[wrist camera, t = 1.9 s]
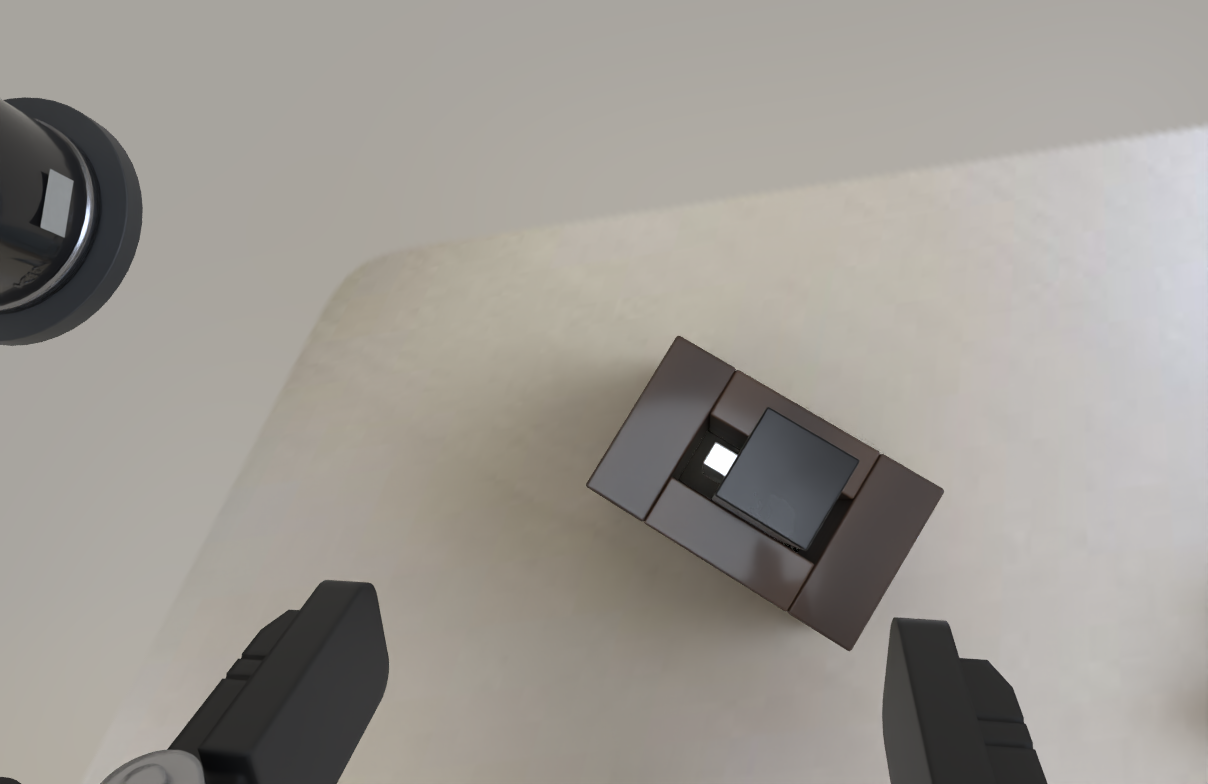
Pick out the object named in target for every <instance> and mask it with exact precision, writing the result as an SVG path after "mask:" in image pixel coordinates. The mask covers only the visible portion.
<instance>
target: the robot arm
mask: <svg viewBox="0 0 1208 784" xmlns="http://www.w3.org/2000/svg"><path fill="white" fill-rule="evenodd" d="M100 216H101V194H100V187H99V182H98V179H97V176H96V173H95V170H94V168H93V166H92V164H91V162H90V160H89V158H88V157H87V155H86V154H85V153H84V151H83V150H82V149H81V148H80V147H79V145H78V144H77V143H75V142H74V141H73V140H72V139H71V138H70V137H68V136H67V135H65V134H64V133H62V132H61V131H59V130H57V129H55V128H54V127H52V126H50V125H48V124H47V123H45V122H43V121H40V120H38V119H35V118H32V117H30V116H29V115H27V114H25V113H24V112H22V111H20V110H19V109H17V108H15V107H13V106H12V105H10V104H8V103H7V102H5V101H3V100H2V99H0V314H5V313H13V312H17V311H22V310H25V309H28V308H31V307H33V306H35V305H37V304H40V303H41V302H43V301H45V300H47V299H48V298H50V297H51V296H53V295H54V294H56V293H57V292H58V291H59V290H61V289H62V288H63V287H64V286H65V285H66V284H67V283H68V282H69V281H70V280H71V279H72V278H73V277H74V276H75V274H76V273H77V272H78V271H79V269H80V268H81V266H82V265H83V264H84V262H85V260H86V259H87V257H88V255H89V253H90V251H91V249H92V247H93V244H94V241H95V239H96V235H97V232H98V228H99V223H100ZM388 673H389V658H388V652H387V646H386V641H385V636H384V630H383V625H382V619H381V614H380V609H379V603H378V598H377V593H376V590H375V588H374V586H373V585H372V584H371V583H366V582H350V581H334V580H325V581H323V582H321V583H320V584H319V585H318V586H317V588H316V589H315V590H314V592H313V593H312V594H311V596H310V597H309V599H308V600H307V601H306V603H305V604H304V605H303V607H302V608H301V609H300V610H288V611H286V612H285V613H284V614H282V615H281V616H279V617H278V618H277V619H275V620H274V621H272V622H271V623H270V624H268V625H267V626H265V627H264V628H263V629H261V630H260V631H259V633H258V634H257V635H256V636H255V638H254V639H253V640H252V642H251V643H250V644H249V645H248V647H247V648H246V649H245V651H244V652H243V653H242V658H241V659H238V660H237V661H236V662H235V663H234V665H233V666H232V667H231V668H230V670H229V671H228V672H227V676H226V679H222V680H221V681H220V683H219V684H218V685H217V686H216V688H215V689H214V690H213V692H212V693H211V694H210V695H209V697H208V698H207V699H206V701H205V702H204V703H203V704H202V706H201V707H200V708H199V709H198V711H197V712H196V713H195V715H194V716H193V717H192V718H191V720H190V721H189V722H188V724H187V725H186V726H185V727H184V729H183V730H182V731H181V733H180V734H179V735H178V736H177V738H176V739H175V740H174V742H173V743H172V744H171V745H170V747H169V748H168V749H167V750H161V751H156V752H152V753H149V754H145V755H142V756H140V757H138V758H135V759H133V760H131V761H129V762H127V763H126V764H124V765H122V766H121V767H119V768H118V769H116V770H115V771H114V772H112V773H111V774H110V775H109V776H107V777H106V778H105V779H104V780H103V781H102V782H101V783H100V784H337V782H338V780H339V778H340V776H341V774H342V773H343V771H344V769H345V767H346V765H347V763H348V761H349V759H350V758H351V756H352V754H353V752H354V750H355V748H356V746H357V744H358V743H359V741H360V739H361V737H362V735H363V733H364V731H365V730H366V728H367V726H368V724H369V722H370V720H371V718H372V716H373V715H374V713H375V711H376V709H377V707H378V705H379V703H380V701H381V699H382V697H383V695H384V692H385V689H386V685H387V680H388ZM882 719H883V736H884V745H885V751H886V757H887V763H888V769H889V775H890V781H891V784H1047V781H1046V778H1045V776H1044V773H1043V770H1042V767H1041V765H1040V762H1039V759H1038V756H1037V753H1036V751H1035V750H1034V749H1033V742H1032V740H1031V737H1030V734H1029V731H1028V729H1027V726H1026V724H1024V718H1023V715H1022V712H1021V709H1020V706H1019V704H1018V701H1017V698H1016V695H1015V693H1014V690H1013V687H1012V686H1011V685H1010V684H1009V683H1008V682H1007V681H1006V680H1005V679H1004V678H1003V677H1002V675H1001V674H1000V673H999V672H998V671H997V670H996V669H995V668H994V667H993V666H992V665H991V663H990V662H989V661H988V660H979V659H965V658H959V656H958V652H957V649H956V646H955V642H954V639H953V636H952V632H951V629H950V626H949V624H948V622H947V621H941V620H926V619H910V618H893V620H892V623H891V629H890V638H889V647H888V656H887V666H886V675H885V684H884V693H883V709H882ZM0 784H21V783H19V782H18V781H17V780H14V779H11V778H6V777H0Z"/></svg>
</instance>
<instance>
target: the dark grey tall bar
mask: <svg viewBox="0 0 1208 784" xmlns="http://www.w3.org/2000/svg"><path fill="white" fill-rule="evenodd" d="M858 464H859V459H857V458H856V457H854V456H852V455H851V454H849V453H847V452H845V451H844V450H842V449H840V448H839V447H837V446H835V445H833V444H832V443H830V442H828V441H827V440H825V439H823V438H821V437H820V436H818V435H816V434H815V433H813V432H811V431H810V430H808V429H806V428H804V427H803V426H801V425H799V424H798V423H796V422H794V421H792V420H791V419H789V418H787V417H786V416H784V415H782V414H780V413H779V412H777V411H775V410H774V409H772V408H770V407H767V408H766V409H765V411H764V413H763V414H762V416H761V417H760V419H759V421H758V422H757V424H756V426H755V427H754V429H753V431H752V432H751V434H750V435H749V437H748V439H747V440H746V442H745V444H744V445H743V447H742V449H741V450H740V452H739V454H736V453H734V452H733V451H731V450H729V449H728V448H726V447H724V446H723V445H721V444H719V443H718V442H715V443H714V444H713V446H712V448H711V449H710V451H709V453H708V454H707V456H706V458H705V459H704V461H703V475H705V476H707V477H708V478H710V479H712V480H713V481H715V482H717V483H718V484H720V485H719V487H718V489H717V490H716V492H715V494H714V495H713V497H712V500H713V501H715V502H717V503H718V504H720V505H721V506H723V507H725V508H726V509H728V510H730V511H731V512H733V513H735V514H736V515H738V516H739V517H741V518H743V519H744V520H746V521H748V522H749V523H751V524H753V525H754V526H756V527H757V528H759V529H761V530H762V531H764V532H766V533H767V534H769V535H770V536H772V537H774V538H775V539H777V540H779V541H781V542H784V543H786V544H789V545H791V546H794V547H797V548H799V549H802V550H804V551H806V550H808V548H809V546H810V545H811V543H812V541H813V540H814V538H815V536H816V535H817V533H818V531H819V529H820V528H821V526H822V524H823V523H824V521H825V519H826V518H827V516H828V514H829V513H830V511H831V509H832V508H833V506H834V504H835V503H836V501H837V499H838V498H839V496H840V494H841V492H842V491H843V489H844V487H845V486H846V484H847V482H848V481H849V479H850V477H851V476H852V474H853V472H854V471H855V469H856V467H857V466H858Z"/></svg>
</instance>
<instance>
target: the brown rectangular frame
mask: <svg viewBox="0 0 1208 784" xmlns="http://www.w3.org/2000/svg"><path fill="white" fill-rule="evenodd" d="M735 370H736V369H735V368H734V367H732V366H731V365H729V364H727V363H726V362H724V361H722V360H720V359H719V358H717V357H715V356H714V355H712V354H710V353H708V352H707V351H705V350H703V349H702V348H700V347H698V346H696V345H695V344H693V343H691V342H689V341H688V340H686V339H684V338H683V337H681V336H677V337H676V338H675V340H674V342H673V343H672V345H671V347H670V348H669V350H668V351H667V353H666V355H665V356H664V358H663V360H662V361H661V363H660V364H659V366H658V368H657V369H656V371H655V373H654V374H653V376H652V377H651V379H650V381H649V382H648V384H647V386H646V387H645V389H644V391H643V392H642V394H641V395H640V397H639V399H638V400H637V402H636V404H635V405H634V407H633V408H632V410H631V412H630V413H629V415H628V417H627V418H626V420H625V422H624V423H623V425H622V426H621V428H620V430H619V431H618V433H617V435H616V436H615V438H614V439H613V441H612V443H611V444H610V446H609V448H608V449H607V451H606V453H605V454H604V456H603V457H602V459H601V461H600V462H599V464H598V466H597V467H596V469H595V470H594V472H593V474H592V475H591V477H590V479H589V480H588V482H587V483H586V486H587V488H589V489H591V490H592V491H594V492H595V493H597V494H599V495H600V496H602V497H603V498H605V499H607V500H608V501H610V502H611V503H613V504H615V505H616V506H618V507H619V508H621V509H623V510H624V511H626V512H627V513H629V514H631V515H632V516H634V517H635V518H637V519H638V520H640V521H644V523H645V524H646V525H648V526H650V527H651V528H653V529H654V530H656V531H658V532H659V533H661V534H662V535H664V536H666V537H667V538H669V539H670V540H672V541H674V542H675V543H677V544H678V545H680V546H682V547H683V548H685V549H686V550H688V551H689V552H691V553H693V554H694V555H696V556H697V557H699V558H701V559H702V560H704V561H705V562H707V563H709V564H710V565H712V566H713V567H715V568H717V569H718V570H720V571H721V572H723V573H725V574H726V575H728V576H729V577H731V578H733V579H734V580H736V581H737V582H739V583H741V584H742V585H744V586H745V587H747V588H749V589H750V590H752V591H753V592H755V593H757V594H758V595H760V596H761V597H763V598H764V599H766V600H768V601H769V602H771V603H772V604H774V605H776V606H777V607H779V608H780V609H782V610H784V611H787V612H788V613H789V614H790V615H792V616H793V617H795V618H796V619H798V620H800V621H801V622H803V623H804V624H806V625H808V626H809V627H811V628H812V629H814V630H816V631H817V632H819V633H820V634H822V635H824V636H825V637H827V638H828V639H830V640H832V641H833V642H835V643H836V644H838V645H840V646H841V647H843V648H844V649H846V650H848V651H850V650H852V648H853V647H854V645H855V643H856V641H857V640H858V638H859V636H860V635H861V633H862V631H863V630H864V628H865V626H866V624H867V623H868V621H869V619H870V618H871V616H872V614H873V612H874V611H875V609H876V607H877V606H878V604H879V602H880V601H881V599H882V597H883V595H884V594H885V592H886V590H887V589H888V587H889V585H890V584H891V582H892V580H893V578H894V577H895V575H896V573H897V572H898V570H899V568H900V566H901V565H902V563H903V561H904V560H905V558H906V556H907V555H908V553H909V551H910V549H911V548H912V546H913V544H914V543H915V541H916V539H917V537H918V536H919V534H920V532H921V531H922V529H923V527H924V526H925V524H926V522H927V520H928V519H929V517H930V515H931V514H932V512H933V510H934V508H935V507H936V505H937V503H938V502H939V500H940V498H941V497H942V495H943V493H944V490H943V489H942V488H941V487H939V486H937V485H935V484H934V483H932V482H930V481H929V480H927V479H925V478H923V477H922V476H920V475H918V474H917V473H915V472H913V471H911V470H910V469H908V468H906V467H904V466H903V465H901V464H899V463H898V462H896V461H894V460H892V459H891V458H889V457H887V456H886V455H884V454H880V453H879V452H878V451H877V450H875V449H874V448H872V447H870V446H868V445H867V444H865V443H863V442H861V441H860V440H858V439H856V438H855V437H853V436H851V435H849V434H848V433H846V432H844V431H843V430H841V429H839V428H837V427H836V426H834V425H832V424H830V423H829V422H827V421H825V420H824V419H822V418H820V417H818V416H817V415H815V414H813V413H812V412H810V411H808V410H806V409H805V408H803V407H801V406H800V405H798V404H796V403H794V402H793V401H791V400H789V399H787V398H786V397H784V396H782V395H781V394H779V393H777V392H775V391H774V390H772V389H770V388H769V387H767V386H765V385H763V384H762V383H760V382H758V381H757V380H755V379H753V378H751V377H750V376H748V375H746V374H744V373H743V372H741V371H739V370H736V371H735ZM767 407H770V408H772V409H774V410H775V411H777V412H779V413H780V414H782V415H784V416H786V417H787V418H789V419H791V420H792V421H794V422H796V423H798V424H799V425H801V426H803V427H804V428H806V429H808V430H810V431H811V432H813V433H815V434H816V435H818V436H820V437H821V438H823V439H825V440H827V441H828V442H830V443H832V444H833V445H835V446H837V447H839V448H840V449H842V450H844V451H845V452H847V453H849V454H851V455H852V456H854V457H856V458H857V459H859V464H858V466H857V467H856V469H855V471H854V472H853V474H852V476H851V477H850V479H849V481H848V482H847V484H846V486H845V487H844V489H843V491H842V492H841V494H840V496H839V498H838V499H837V501H836V503H835V504H834V506H833V508H832V509H831V511H830V513H829V514H828V516H827V518H826V519H825V521H824V523H823V524H822V526H821V528H820V529H819V531H818V533H817V535H816V536H815V538H814V540H813V541H812V543H811V545H810V546H809V548H808V550H806V551H804V550H802V549H800V550H799V552H798V553H796V552H795V551H793V550H791V549H790V548H788V547H786V546H785V545H783V544H782V543H780V542H778V541H777V540H775V539H773V538H772V537H770V536H769V535H767V534H765V533H764V532H762V531H760V530H759V529H757V528H755V527H754V526H752V525H751V524H749V523H747V522H746V521H744V520H742V519H741V518H739V517H738V516H736V515H734V514H733V513H731V512H729V511H728V510H726V509H724V508H723V507H721V506H720V505H718V504H716V503H715V502H713V501H711V500H710V499H708V498H707V497H705V496H703V495H702V494H700V493H698V492H697V491H695V490H693V489H692V488H690V487H689V486H687V485H685V484H684V483H682V482H680V481H679V480H678V479H679V477H680V476H681V474H682V472H683V471H684V469H685V467H686V466H687V464H688V462H689V461H690V459H691V458H692V456H693V454H694V453H695V451H696V449H697V448H698V446H699V444H700V443H701V441H702V439H703V438H704V436H705V434H706V433H707V431H708V430H709V431H710V432H712V433H713V434H715V435H717V436H718V437H720V438H722V439H723V440H725V441H727V442H728V443H730V444H732V445H733V446H735V447H737V448H738V449H740V450H741V449H742V447H743V445H744V444H745V442H746V440H747V439H748V437H749V435H750V434H751V432H752V431H753V429H754V427H755V426H756V424H757V422H758V421H759V419H760V417H761V416H762V414H763V413H764V411H765V409H766V408H767Z"/></svg>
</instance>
